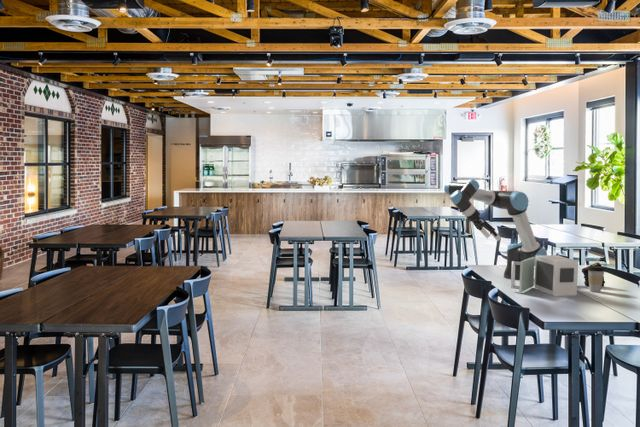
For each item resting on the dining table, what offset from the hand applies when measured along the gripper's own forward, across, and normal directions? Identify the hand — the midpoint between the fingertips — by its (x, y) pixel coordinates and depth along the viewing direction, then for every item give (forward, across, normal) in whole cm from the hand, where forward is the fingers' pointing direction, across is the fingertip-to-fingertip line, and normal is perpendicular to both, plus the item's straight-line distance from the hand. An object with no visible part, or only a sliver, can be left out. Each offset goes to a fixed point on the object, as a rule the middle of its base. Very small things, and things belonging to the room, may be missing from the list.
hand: (494, 238), depth 329 cm
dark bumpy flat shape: (+72, -6, +27) cm, 77 cm away
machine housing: (+49, +5, +4) cm, 49 cm away
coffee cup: (+66, +8, +22) cm, 70 cm away
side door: (+36, -1, -8) cm, 36 cm away
